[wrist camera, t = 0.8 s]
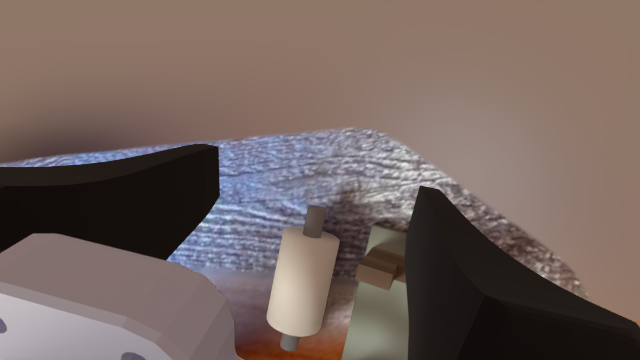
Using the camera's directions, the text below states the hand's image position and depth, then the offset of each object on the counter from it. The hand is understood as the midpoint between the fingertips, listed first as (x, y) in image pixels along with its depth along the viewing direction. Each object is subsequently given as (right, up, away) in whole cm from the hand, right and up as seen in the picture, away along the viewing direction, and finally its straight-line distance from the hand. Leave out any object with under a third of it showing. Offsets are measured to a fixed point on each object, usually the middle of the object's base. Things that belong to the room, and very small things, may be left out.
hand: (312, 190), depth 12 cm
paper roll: (-1, -8, +19) cm, 21 cm away
